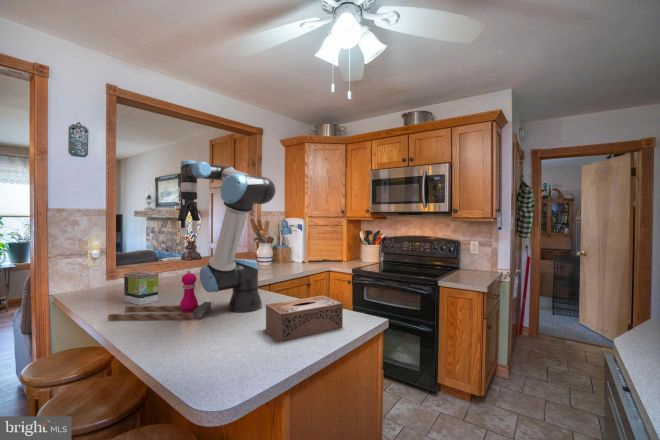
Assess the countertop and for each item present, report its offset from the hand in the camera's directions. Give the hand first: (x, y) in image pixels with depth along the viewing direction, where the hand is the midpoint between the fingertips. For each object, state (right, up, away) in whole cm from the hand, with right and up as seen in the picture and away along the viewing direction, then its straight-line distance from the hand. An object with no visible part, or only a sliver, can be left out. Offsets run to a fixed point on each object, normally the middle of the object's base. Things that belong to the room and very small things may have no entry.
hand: (189, 234), depth 159 cm
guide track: (-4, -35, -20) cm, 40 cm away
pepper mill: (+8, -35, -19) cm, 41 cm away
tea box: (-26, -35, +3) cm, 44 cm away
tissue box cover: (+61, -36, -37) cm, 79 cm away
